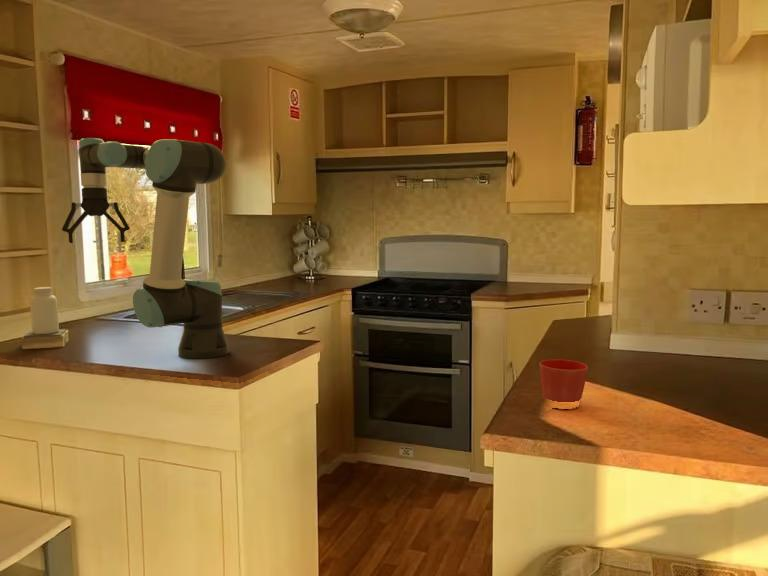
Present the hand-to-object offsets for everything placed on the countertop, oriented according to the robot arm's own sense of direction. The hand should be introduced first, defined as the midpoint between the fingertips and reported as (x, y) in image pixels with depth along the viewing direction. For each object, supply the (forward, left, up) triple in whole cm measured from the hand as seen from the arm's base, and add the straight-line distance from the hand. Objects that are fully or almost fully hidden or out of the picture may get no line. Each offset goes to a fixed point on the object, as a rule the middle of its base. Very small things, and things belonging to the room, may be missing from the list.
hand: (98, 252), depth 214 cm
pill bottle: (+5, +18, -27) cm, 33 cm away
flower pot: (-106, -108, -31) cm, 154 cm away
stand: (+5, +18, -31) cm, 36 cm away
